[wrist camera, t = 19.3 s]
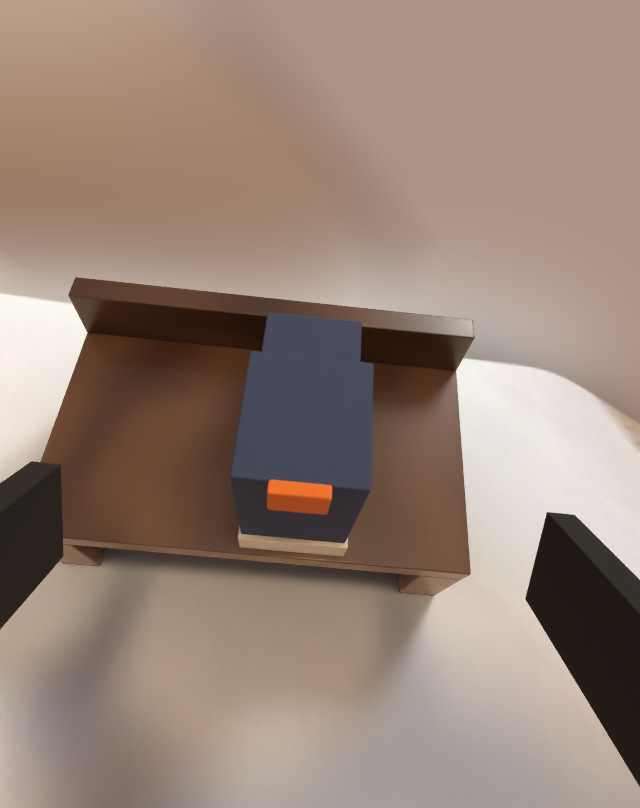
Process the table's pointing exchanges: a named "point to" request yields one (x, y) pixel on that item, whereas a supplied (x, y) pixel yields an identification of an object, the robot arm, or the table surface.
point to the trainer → (303, 437)
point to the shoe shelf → (218, 422)
